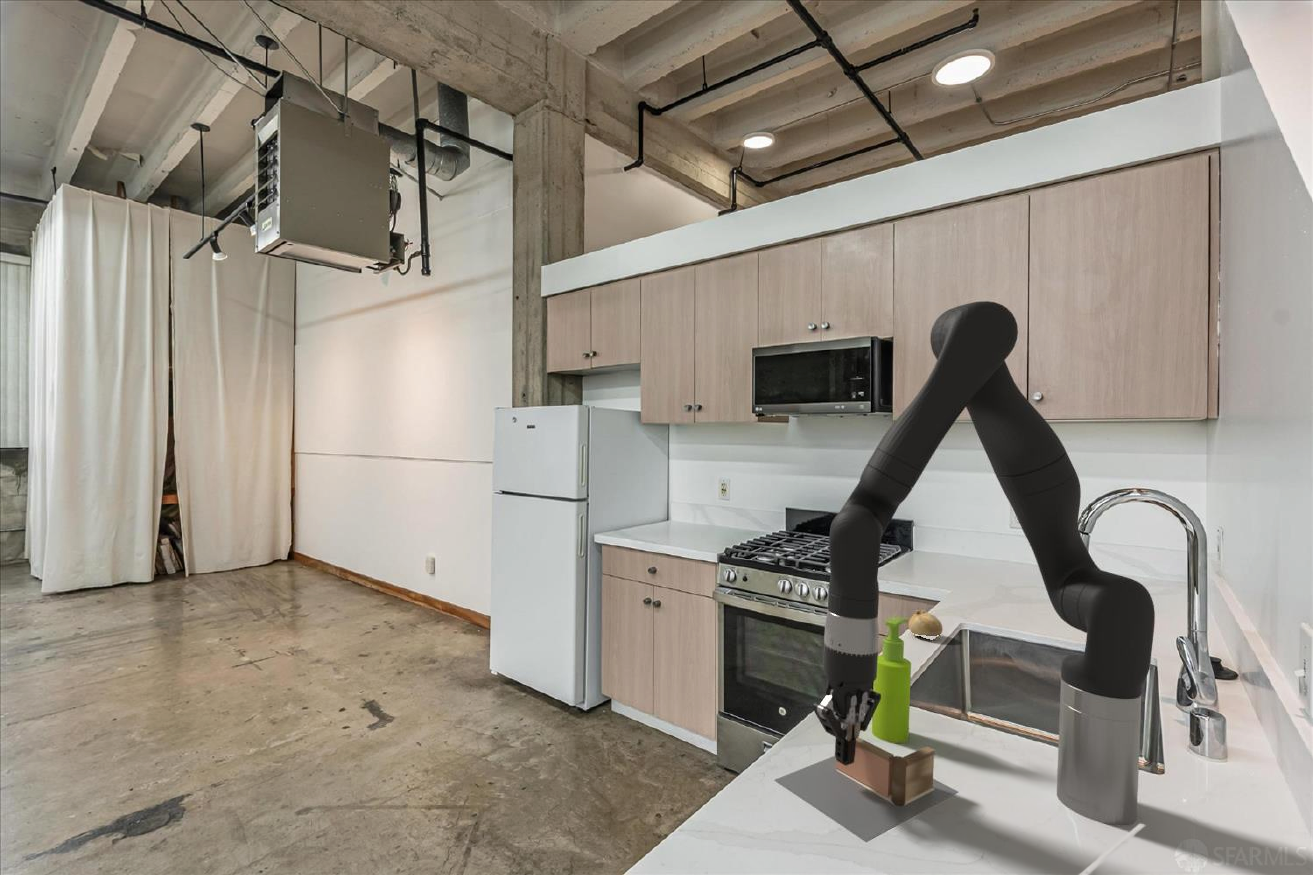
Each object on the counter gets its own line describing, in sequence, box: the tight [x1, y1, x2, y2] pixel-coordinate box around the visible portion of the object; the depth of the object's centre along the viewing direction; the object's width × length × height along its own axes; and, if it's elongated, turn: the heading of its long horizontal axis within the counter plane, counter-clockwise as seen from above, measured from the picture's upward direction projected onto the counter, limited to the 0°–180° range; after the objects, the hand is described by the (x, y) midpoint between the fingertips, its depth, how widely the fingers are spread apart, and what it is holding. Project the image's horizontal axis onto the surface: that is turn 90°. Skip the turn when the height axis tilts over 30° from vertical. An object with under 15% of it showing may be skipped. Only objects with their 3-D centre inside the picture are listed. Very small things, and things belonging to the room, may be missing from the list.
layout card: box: [773, 755, 959, 843], centre depth 90 cm, size 21×16×1 cm
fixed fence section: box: [891, 746, 936, 806], centre depth 88 cm, size 8×2×6 cm, turn 124°
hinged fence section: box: [835, 737, 894, 797], centre depth 91 cm, size 9×1×6 cm, turn 35°
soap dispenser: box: [871, 616, 912, 744], centre depth 106 cm, size 6×7×20 cm
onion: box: [908, 609, 943, 636], centre depth 160 cm, size 8×8×7 cm
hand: (844, 761), depth 90 cm, fingers closed
